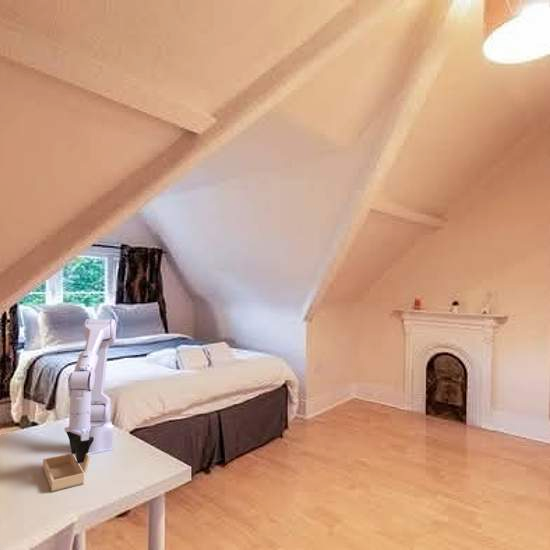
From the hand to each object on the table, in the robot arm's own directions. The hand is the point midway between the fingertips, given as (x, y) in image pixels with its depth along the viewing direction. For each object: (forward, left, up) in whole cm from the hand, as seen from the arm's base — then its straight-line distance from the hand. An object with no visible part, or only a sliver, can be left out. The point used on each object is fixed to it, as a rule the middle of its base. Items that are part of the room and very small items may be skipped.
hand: (78, 457), depth 125 cm
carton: (+4, -1, -5) cm, 6 cm away
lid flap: (-1, -1, 0) cm, 1 cm away
